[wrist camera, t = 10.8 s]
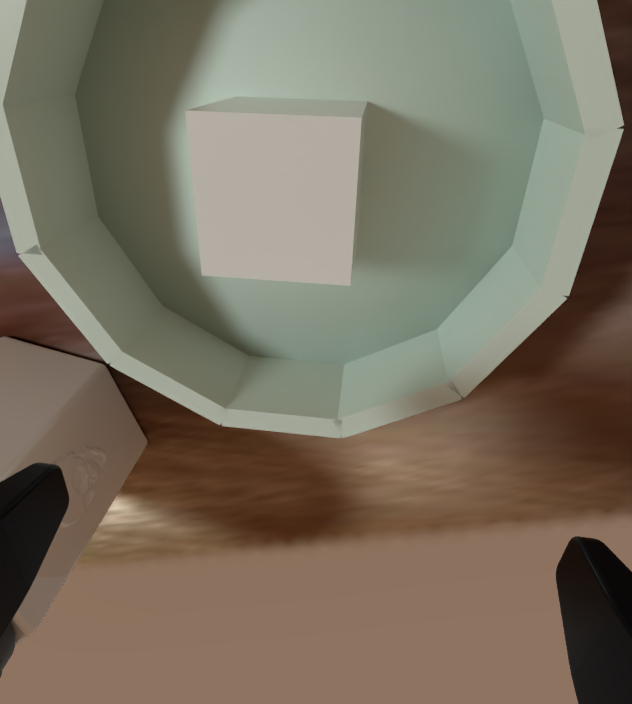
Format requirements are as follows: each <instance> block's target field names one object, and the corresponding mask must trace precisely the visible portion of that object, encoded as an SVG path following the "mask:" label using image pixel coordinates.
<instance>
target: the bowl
mask: <svg viewBox="0 0 632 704" xmlns="http://www.w3.org/2000/svg"><path fill="white" fill-rule="evenodd" d="M235 96H244V97H271V98H297V99H324V100H350V101H367V114H366V128H365V142H364V156H363V170H362V184H361V198H360V212H359V227H358V237H357V244H356V251H355V258H354V265H353V272H352V279H351V286H345V285H331V284H316V283H302V282H288V281H274V280H259V279H245V278H231V277H216V276H202V273H201V263H200V253H199V243H198V233H197V223H196V213H195V203H194V193H193V183H192V173H191V163H190V153H189V143H188V133H187V123H186V113H185V110H189V109H192V108H196V107H199V106H203V105H207V104H210V103H214V102H217V101H221V100H225V99H228V98H232V97H235ZM623 125H624V122H623V117H622V113H621V108H620V104H619V99H618V94H617V90H616V85H615V81H614V76H613V71H612V67H611V62H610V58H609V53H608V48H607V44H606V39H605V35H604V30H603V25H602V21H601V16H600V12H599V7H598V2H597V0H0V197H1V200H2V204H3V207H4V211H5V214H6V217H7V221H8V224H9V228H10V231H11V235H12V238H13V242H14V245H15V248H16V252H17V253H22V254H20V255H19V257H20V258H21V260H22V261H23V262H24V263H25V264H26V266H27V267H28V268H29V269H30V271H31V272H32V273H33V274H34V275H35V277H36V278H37V279H38V280H39V281H40V283H41V284H42V285H43V286H44V288H45V289H46V290H47V291H48V292H49V294H50V295H51V296H52V297H53V298H54V300H55V301H56V302H57V303H58V305H59V306H60V307H61V308H62V309H63V311H64V312H65V313H66V314H67V315H68V317H69V318H70V319H71V320H72V322H73V323H74V324H75V325H76V326H77V328H78V329H79V330H80V331H81V332H82V334H83V335H84V336H85V337H86V339H87V340H88V341H89V342H90V343H91V345H92V346H93V347H94V348H95V349H96V351H97V352H98V353H99V354H100V356H101V357H102V358H103V359H104V360H105V362H106V363H107V364H109V363H111V364H110V366H111V367H113V368H115V369H117V370H118V371H120V372H122V373H124V374H126V375H128V376H129V377H131V378H133V379H135V380H137V381H139V382H141V383H142V384H144V385H146V386H148V387H150V388H152V389H153V390H155V391H157V392H159V393H161V394H163V395H164V396H166V397H168V398H170V399H172V400H174V401H176V402H177V403H179V404H181V405H183V406H185V407H187V408H188V409H190V410H192V411H194V412H196V413H198V414H200V415H201V416H203V417H205V418H207V419H209V420H211V421H212V422H214V423H216V424H218V425H220V424H221V423H222V426H226V427H236V428H245V429H255V430H264V431H274V432H284V433H293V434H303V435H313V436H322V437H332V438H341V435H342V437H343V438H345V437H348V436H352V435H355V434H358V433H361V432H364V431H367V430H370V429H373V428H376V427H379V426H382V425H385V424H388V423H391V422H394V421H397V420H401V419H404V418H407V417H410V416H413V415H416V414H419V413H422V412H425V411H428V410H431V409H434V408H437V407H440V406H443V405H446V404H449V403H453V402H456V401H459V400H462V397H463V398H465V397H466V396H467V395H468V394H469V393H470V392H471V391H472V390H473V389H474V388H475V387H476V386H477V385H478V384H479V383H480V382H481V381H483V380H484V379H485V378H486V377H487V376H488V375H489V374H490V373H491V372H492V371H493V370H494V369H495V368H496V367H497V366H498V365H499V364H500V363H501V362H502V361H503V360H504V359H505V358H506V357H507V356H508V355H509V354H510V353H512V352H513V351H514V350H515V349H516V348H517V347H518V346H519V345H520V344H521V343H522V342H523V341H524V340H525V339H526V338H527V337H528V336H529V335H530V334H531V333H532V332H533V331H534V330H535V329H536V328H537V327H538V326H540V325H541V324H542V323H543V322H544V321H545V320H546V319H547V318H548V317H549V316H550V315H551V314H552V313H553V312H554V311H555V310H556V309H557V308H558V307H559V306H560V305H561V304H562V303H563V302H564V301H565V300H566V299H567V298H566V296H569V295H570V292H571V289H572V285H573V282H574V279H575V276H576V273H577V270H578V267H579V264H580V261H581V258H582V255H583V252H584V249H585V246H586V243H587V240H588V237H589V234H590V231H591V228H592V225H593V222H594V219H595V216H596V212H597V209H598V206H599V203H600V200H601V197H602V194H603V191H604V188H605V185H606V182H607V179H608V176H609V173H610V170H611V167H612V164H613V161H614V158H615V155H616V152H617V149H618V146H619V143H620V139H621V136H622V133H623V130H624V129H622V128H619V127H621V126H623ZM461 396H462V397H461Z"/></svg>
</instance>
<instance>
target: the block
mask: <svg viewBox="0 0 632 704" xmlns="http://www.w3.org/2000/svg"><path fill="white" fill-rule="evenodd" d="M185 113H186V123H187V133H188V143H189V153H190V163H191V173H192V183H193V193H194V203H195V213H196V223H197V233H198V243H199V253H200V263H201V273H202V276H216V277H231V278H245V279H259V280H274V281H288V282H302V283H316V284H331V285H345V286H351V279H352V272H353V265H354V258H355V251H356V244H357V237H358V227H359V212H360V198H361V184H362V170H363V156H364V142H365V128H366V114H367V101H350V100H324V99H297V98H271V97H244V96H235V97H232V98H228V99H225V100H221V101H217V102H214V103H210V104H207V105H203V106H199V107H196V108H192V109H189V110H185Z"/></svg>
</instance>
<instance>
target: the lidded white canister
mask: <svg viewBox="0 0 632 704" xmlns="http://www.w3.org/2000/svg"><path fill="white" fill-rule="evenodd" d="M146 446H147V439H146V437H145V435H144V434H143V432H142V430H141V428H140V426H139V425H138V423H137V421H136V419H135V417H134V416H133V414H132V412H131V410H130V408H129V407H128V405H127V403H126V401H125V399H124V398H123V396H122V394H121V392H120V390H119V389H118V387H117V385H116V383H115V381H114V380H113V378H112V376H111V374H110V372H109V371H108V369H107V367H106V366H105V365H104V364H102V363H98V362H95V361H91V360H88V359H84V358H80V357H77V356H73V355H70V354H66V353H63V352H59V351H56V350H52V349H49V348H45V347H41V346H38V345H34V344H31V343H27V342H24V341H20V340H17V339H13V338H9V337H2V338H0V482H1V481H3V480H5V479H6V478H8V477H10V476H12V475H13V474H15V473H17V472H19V471H21V470H22V469H24V468H26V467H28V466H29V465H31V464H34V463H38V462H40V463H48V464H55V465H58V466H59V467H60V468H61V469H62V472H63V476H64V479H65V483H66V486H67V490H68V493H69V505H68V509H67V511H66V513H65V515H64V518H63V520H62V522H61V524H60V526H59V528H58V530H57V533H56V535H55V537H54V539H53V541H52V543H51V546H50V548H49V550H48V552H47V554H46V556H45V558H44V561H43V563H42V565H41V567H40V569H39V571H38V574H37V576H36V578H35V580H34V582H33V584H32V586H31V588H30V590H29V591H28V593H27V595H26V597H25V599H24V600H23V602H22V604H21V606H20V607H19V609H18V611H17V612H16V614H15V616H14V617H13V619H12V621H11V623H10V624H9V626H8V628H7V629H6V631H5V633H4V634H3V636H2V638H1V640H0V677H1V675H2V670H3V668H4V666H5V665H6V663H7V662H8V660H9V659H10V657H11V655H12V653H13V651H14V648H15V646H16V645H18V644H19V643H21V642H22V641H23V640H25V639H26V638H28V637H29V636H30V635H32V634H33V633H34V632H35V631H36V629H37V627H38V626H39V624H40V622H41V621H42V619H43V617H44V616H45V614H46V612H47V611H48V609H49V607H50V606H51V604H52V602H53V601H54V599H55V597H56V596H57V594H58V592H59V591H60V589H61V587H62V586H63V584H64V582H65V581H66V579H67V577H68V576H69V574H70V572H71V571H72V569H73V567H74V566H75V564H76V563H77V561H78V559H79V558H80V556H81V554H82V553H83V551H84V549H85V548H86V546H87V544H88V543H89V541H90V539H91V538H92V536H93V534H94V533H95V531H96V529H97V528H98V526H99V524H100V523H101V521H102V519H103V518H104V516H105V514H106V513H107V511H108V509H109V508H110V506H111V504H112V503H113V501H114V499H115V498H116V496H117V494H118V493H119V491H120V489H121V488H122V486H123V484H124V483H125V481H126V479H127V478H128V476H129V474H130V473H131V471H132V469H133V468H134V466H135V464H136V463H137V461H138V459H139V458H140V456H141V454H142V453H143V451H144V449H145V448H146Z"/></svg>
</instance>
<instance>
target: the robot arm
mask: <svg viewBox="0 0 632 704" xmlns="http://www.w3.org/2000/svg"><path fill="white" fill-rule="evenodd" d="M68 505H69V493H68V490H67V486H66V483H65V479H64V476H63V472H62V469H61V468H60V467H59V466H58V465H55V464H48V463H40V462H38V463H34V464H31V465H29V466H28V467H26V468H24V469H22V470H21V471H19V472H17V473H15V474H13V475H12V476H10V477H8V478H6V479H5V480H3V481H1V482H0V640H1V638H2V636H3V634H4V633H5V631H6V629H7V628H8V626H9V624H10V623H11V621H12V619H13V617H14V616H15V614H16V612H17V611H18V609H19V607H20V606H21V604H22V602H23V600H24V599H25V597H26V595H27V593H28V591H29V590H30V588H31V586H32V584H33V582H34V580H35V578H36V576H37V574H38V571H39V569H40V567H41V565H42V563H43V561H44V558H45V556H46V554H47V552H48V550H49V548H50V546H51V543H52V541H53V539H54V537H55V535H56V533H57V530H58V528H59V526H60V524H61V522H62V520H63V518H64V515H65V513H66V511H67V509H68ZM556 582H557V589H558V595H559V602H560V608H561V614H562V621H563V627H564V634H565V640H566V646H567V652H568V659H569V665H570V670H571V675H572V679H573V683H574V688H575V692H576V696H577V700H578V703H579V704H632V572H631V571H630V570H629V569H628V568H627V567H626V566H625V564H624V563H623V562H622V561H621V560H620V559H618V557H616V555H615V554H614V553H613V552H612V551H611V550H610V549H609V548H608V547H607V546H606V545H605V544H604V543H603V542H601V541H600V540H597V539H593V538H585V537H573V538H572V539H571V540H570V541H569V543H568V545H567V547H566V549H565V551H564V553H563V555H562V557H561V560H560V561H559V563H558V566H557V570H556Z"/></svg>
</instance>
